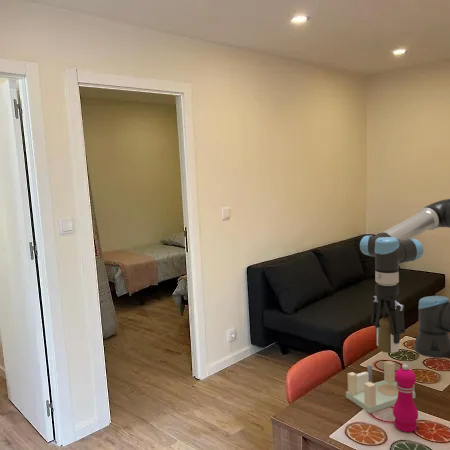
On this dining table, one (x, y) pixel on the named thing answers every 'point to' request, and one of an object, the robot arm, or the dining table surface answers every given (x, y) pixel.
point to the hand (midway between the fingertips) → (387, 348)
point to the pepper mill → (405, 400)
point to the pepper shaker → (385, 335)
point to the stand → (378, 391)
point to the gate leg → (357, 382)
